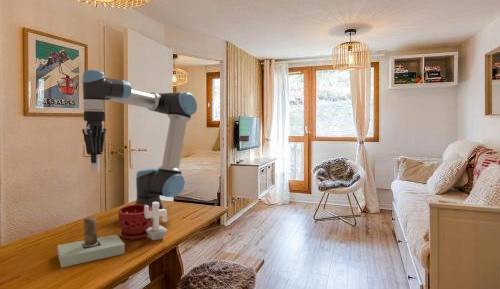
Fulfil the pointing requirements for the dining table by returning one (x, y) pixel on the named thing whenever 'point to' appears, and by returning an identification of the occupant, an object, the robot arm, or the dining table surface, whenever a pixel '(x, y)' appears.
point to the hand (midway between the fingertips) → (95, 170)
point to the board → (90, 250)
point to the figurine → (155, 221)
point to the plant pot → (133, 222)
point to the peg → (90, 232)
